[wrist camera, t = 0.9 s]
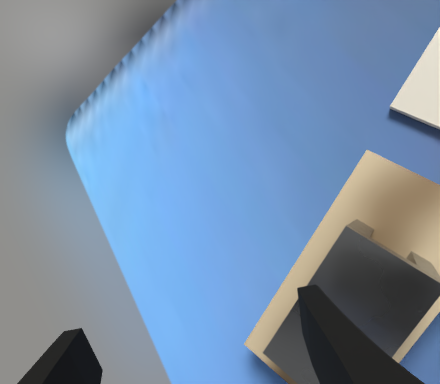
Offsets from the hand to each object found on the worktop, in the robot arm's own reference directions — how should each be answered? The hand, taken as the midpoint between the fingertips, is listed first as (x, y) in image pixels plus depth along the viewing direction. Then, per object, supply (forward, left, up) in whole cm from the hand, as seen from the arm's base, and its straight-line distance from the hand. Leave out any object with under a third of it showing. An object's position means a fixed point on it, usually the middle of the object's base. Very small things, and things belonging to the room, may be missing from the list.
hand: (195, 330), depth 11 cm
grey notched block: (-4, -1, -10) cm, 11 cm away
